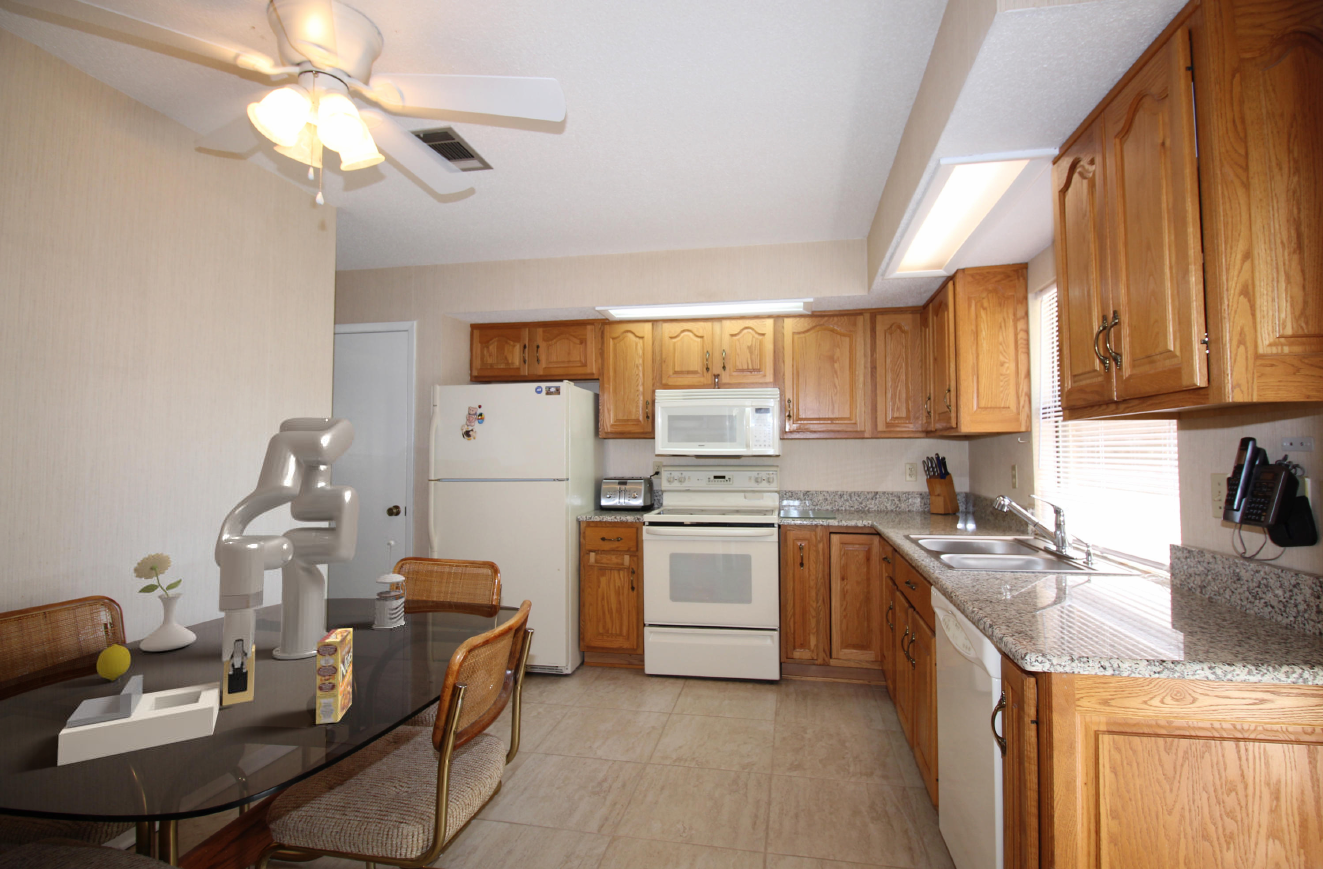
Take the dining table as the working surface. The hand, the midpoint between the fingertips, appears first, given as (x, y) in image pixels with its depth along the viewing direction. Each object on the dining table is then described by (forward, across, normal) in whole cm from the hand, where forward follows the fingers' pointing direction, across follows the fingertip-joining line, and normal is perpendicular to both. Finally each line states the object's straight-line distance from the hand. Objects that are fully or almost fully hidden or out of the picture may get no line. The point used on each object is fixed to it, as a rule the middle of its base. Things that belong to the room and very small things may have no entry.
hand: (238, 684), depth 122 cm
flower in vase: (+3, -49, -18) cm, 52 cm away
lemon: (+3, -27, -24) cm, 36 cm away
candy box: (+3, +19, +16) cm, 25 cm away
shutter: (-2, +10, -19) cm, 21 cm away
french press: (+3, -41, +35) cm, 54 cm away
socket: (+3, +10, -13) cm, 17 cm away
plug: (+3, 0, 0) cm, 3 cm away
